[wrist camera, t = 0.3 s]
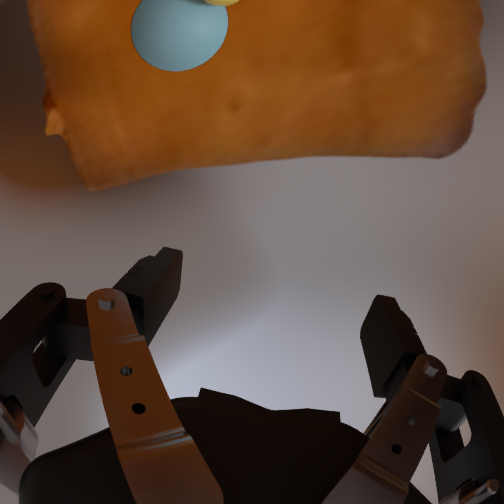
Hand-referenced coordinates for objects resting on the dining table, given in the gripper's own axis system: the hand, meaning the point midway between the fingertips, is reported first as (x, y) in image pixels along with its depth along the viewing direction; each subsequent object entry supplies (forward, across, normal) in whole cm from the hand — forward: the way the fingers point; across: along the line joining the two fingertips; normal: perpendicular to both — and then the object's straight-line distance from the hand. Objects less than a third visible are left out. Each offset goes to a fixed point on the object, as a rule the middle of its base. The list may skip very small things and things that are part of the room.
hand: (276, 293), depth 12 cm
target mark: (+26, +17, -18) cm, 35 cm away
